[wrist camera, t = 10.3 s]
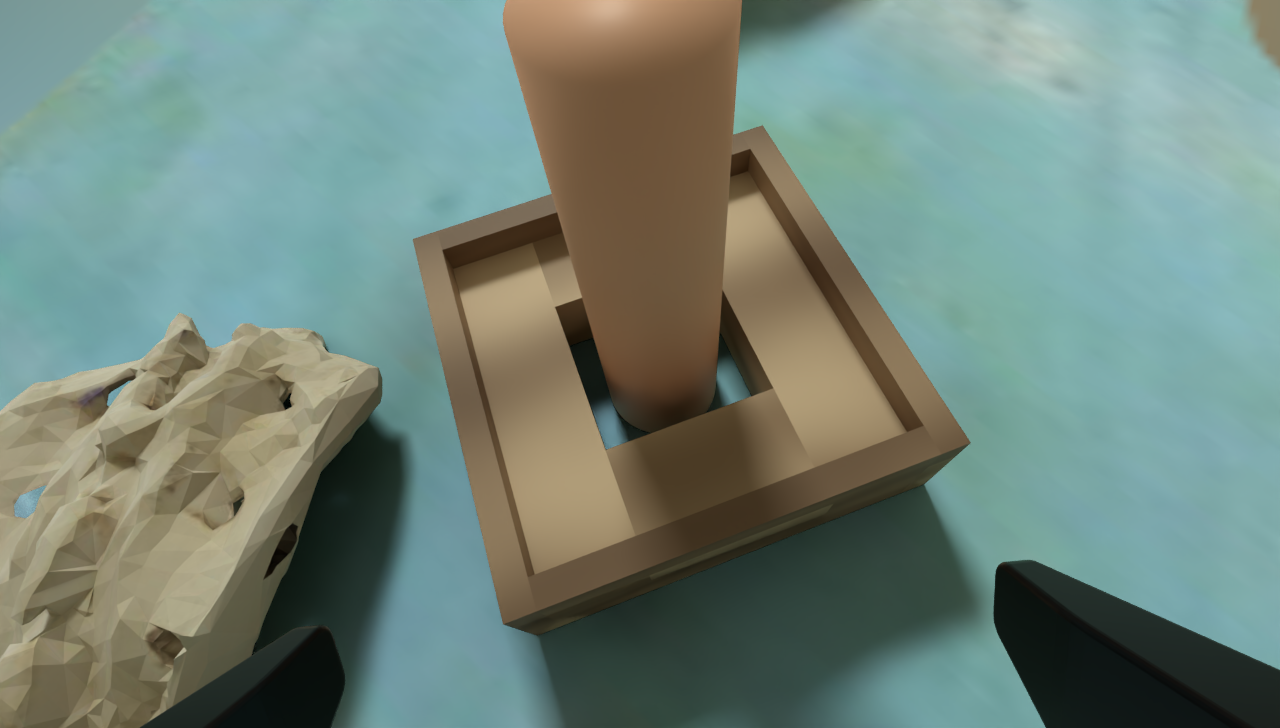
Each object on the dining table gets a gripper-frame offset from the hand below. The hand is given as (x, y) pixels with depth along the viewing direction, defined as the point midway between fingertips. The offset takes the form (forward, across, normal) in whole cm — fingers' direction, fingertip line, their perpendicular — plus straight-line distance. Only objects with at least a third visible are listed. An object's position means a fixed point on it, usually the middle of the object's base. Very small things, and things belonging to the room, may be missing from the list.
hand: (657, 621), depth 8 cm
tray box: (+13, 0, +1) cm, 13 cm away
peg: (+13, 0, +1) cm, 13 cm away
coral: (+10, +15, +4) cm, 19 cm away
